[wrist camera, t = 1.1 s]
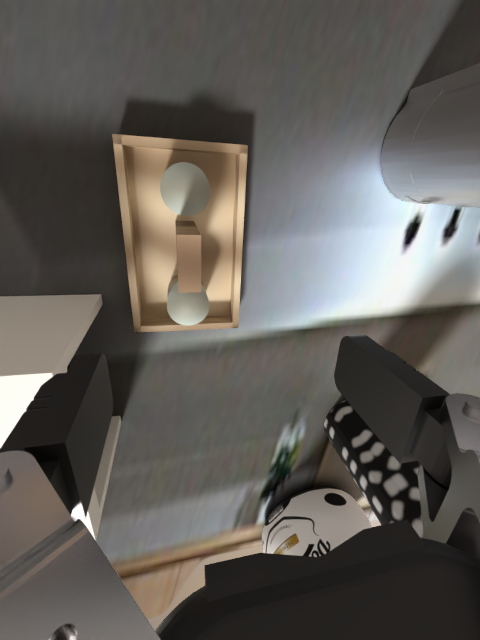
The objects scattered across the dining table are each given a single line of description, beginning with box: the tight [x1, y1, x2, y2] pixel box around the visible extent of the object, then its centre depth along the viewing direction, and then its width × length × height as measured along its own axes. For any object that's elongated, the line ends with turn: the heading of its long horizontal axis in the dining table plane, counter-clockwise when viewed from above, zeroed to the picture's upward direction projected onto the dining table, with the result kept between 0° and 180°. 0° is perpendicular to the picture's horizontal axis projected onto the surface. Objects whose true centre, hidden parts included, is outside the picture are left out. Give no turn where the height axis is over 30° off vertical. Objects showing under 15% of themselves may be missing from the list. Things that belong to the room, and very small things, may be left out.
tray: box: [112, 134, 248, 333], centre depth 24 cm, size 16×10×8 cm, turn 177°
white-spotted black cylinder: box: [324, 400, 423, 538], centre depth 34 cm, size 8×8×20 cm
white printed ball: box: [262, 487, 372, 557], centre depth 42 cm, size 17×17×18 cm
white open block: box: [0, 294, 121, 540], centre depth 24 cm, size 16×14×13 cm
